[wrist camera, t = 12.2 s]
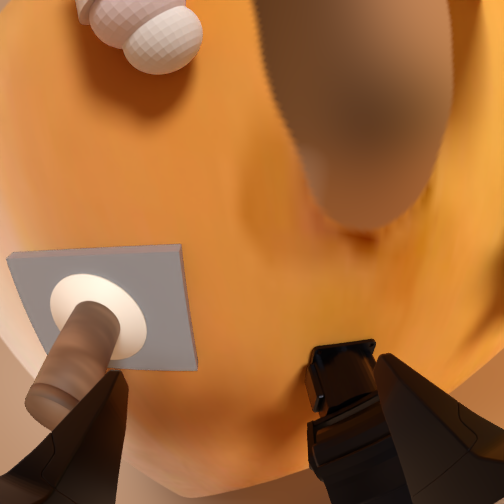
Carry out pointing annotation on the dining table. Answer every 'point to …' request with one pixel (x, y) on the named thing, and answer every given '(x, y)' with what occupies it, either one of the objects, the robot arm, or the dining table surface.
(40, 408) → the pepper mill
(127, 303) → the serving board
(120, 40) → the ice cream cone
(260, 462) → the dining table surface
